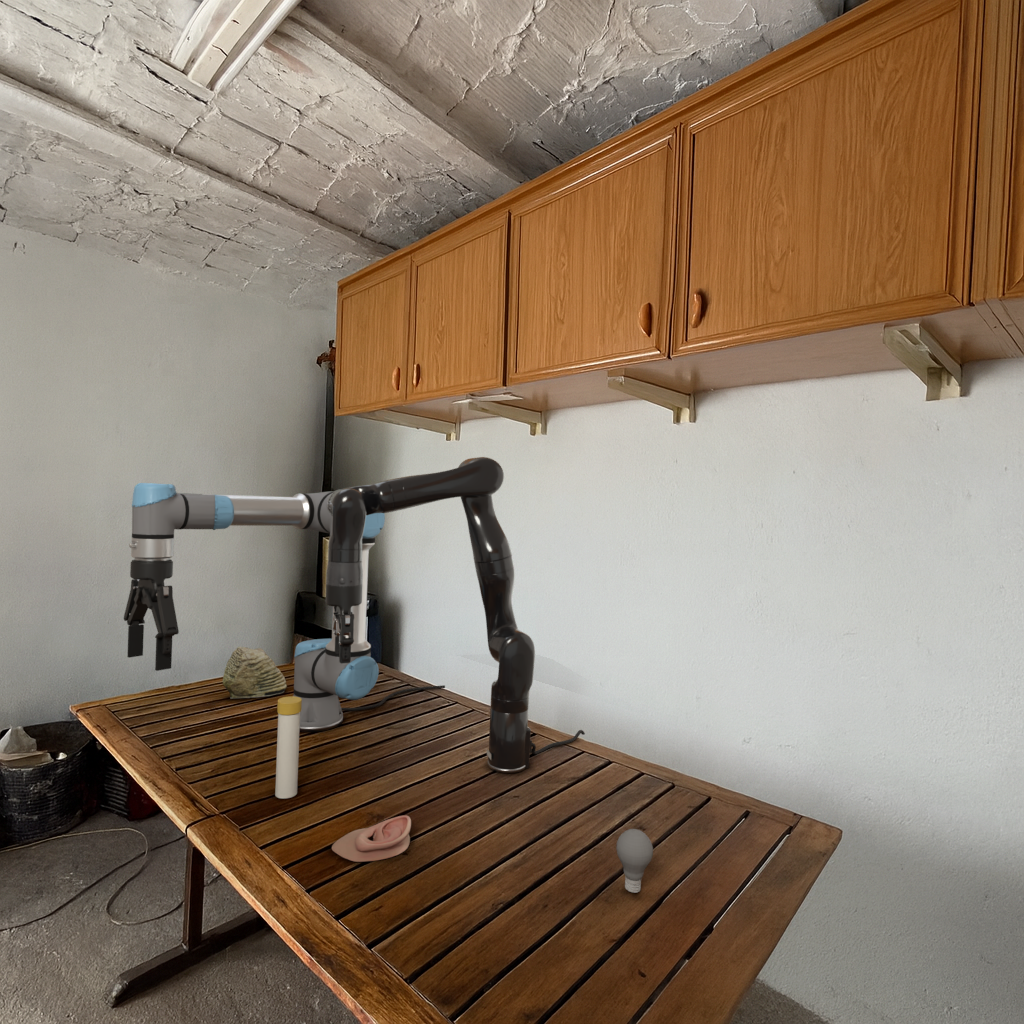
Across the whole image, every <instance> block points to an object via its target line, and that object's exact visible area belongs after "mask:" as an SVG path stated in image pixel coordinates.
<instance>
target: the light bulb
mask: <svg viewBox="0 0 1024 1024" xmlns="http://www.w3.org/2000/svg"><path fill="white" fill-rule="evenodd" d="M615 849H616V854H617V857H618V859H619V861H620V863H621V865H622V867H623V873H624V874H623V875H624V876H625V878H624V888H625V890H627V891H628V892H630V893H634V894H635V893H639V892H640V891H641V889H642V887H641V886H642V879H643V877H644V875H645V871H646V868H647V867H648V866H649V864H650V863H651V861H652V859H653V855H654V847H653V843H652V841H651V838H649V836H648V835H647V834H646V833H645V832H643V831H642V830H641V829H636V828H629V829H627V830H625V831H623V832H622V833H621V834H620V835H619V837H618V839H617V841H616V847H615Z"/></svg>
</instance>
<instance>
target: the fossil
mask: <svg viewBox="0 0 1024 1024" xmlns="http://www.w3.org/2000/svg"><path fill="white" fill-rule="evenodd" d="M222 676H223V677H222V685H223V687H224V688H225V690H226V691H228V693H229V698H230V699H250V698H264V697H271V696H275V695H281V694H284V693H285V691H286V689H287V687H288V686H287V680H286V678H285V676H284V674H283V673H282V672H281V669H279V668H278V667H277V665H276V663H275V662H274V660H273V659H272V658H271V657H270V656H269V655H268V654H267V653H266V652H265V650H264V649H263V648H260V647H258V648H251V647H247V646H246V647H245V646H238V647H237V648H236V649H235V650H233V651H232V653H231V656H230V657H229V659H228V660H227V663H226V666H225V668H224V671H223V675H222Z"/></svg>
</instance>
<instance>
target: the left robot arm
mask: <svg viewBox="0 0 1024 1024" xmlns="http://www.w3.org/2000/svg"><path fill="white" fill-rule="evenodd" d="M334 491H335V490H333V491H332V490H330V491H321V492H311V493H295V494H294V495H293V496H276V495H275V496H274V495H273V496H272V495H248V494H247V495H246V494H244V495H243V494H220V493H219V494H218V493H217V494H216V493H215V494H214V493H189V492H187V493H186V492H177V491H176V486H175V485H174V484H173V483H152V482H139V483H137V484H136V485H135V486H134V488H133V492H132V501H131V520H132V521H131V542H130V543H128V547H129V548H130V549H131V550H130V556H131V558H133V559H132V560H131V561H130V567H129V568H130V571H129V574H130V575H129V576H130V578H131V581H130V590H129V594H128V598H127V603H126V607H125V610H124V615H123V621H124V622H126V624H127V626H128V629H127V630H128V631H127V658H135V657H142V656H144V635H145V634H144V630H145V625H144V624H145V623H146V621H145V619H144V618H145V616H146V615H147V612H148V609H149V610H151V613H152V618H153V620H154V624H155V627H156V631H157V633H156V635H155V636H154V638H155V661H154V663H155V665H154V668H155V669H154V670H155V671H157V672H159V671H164V670H169V669H172V659H173V657H172V655H173V637H175V636H176V635H179V632H180V631H179V625H178V619H177V615H176V614H177V613H176V609H175V603H174V597H173V595H174V593H173V585H165V580H167V579H171V578H172V577H173V575H174V573H173V572H174V561H173V560H172V559H171V558H173V557H174V554H175V553H174V552H175V530H213V531H215V530H224V529H228V528H230V526H233V527H234V526H237V527H238V526H240V527H243V526H246V527H247V526H249V527H250V526H258V527H259V526H268V527H269V526H276V527H277V526H282V527H284V526H285V527H286V526H287V527H288V526H289V527H290V526H291V527H293V528H294V529H296V530H308V531H309V530H310V531H316V532H319V533H325V534H329V537H330V536H331V535H332V524H333V517H332V516H331V514H330V513H329V511H328V508H327V501H328V498H329V497H330V495H331V494H332V493H333V492H334ZM385 515H386V513H374V514H370V515H366V520H365V526H364V532H363V537H362V569H363V583H362V603H361V604H360V605H357V606H352V607H351V612H352V614H354V633H353V639H354V642H353V644H352V645H351V661H350V663H340V661H339V654H336V653H335V635H334V630H333V623H332V625H331V626H332V627H331V638H317V639H308V640H304V641H300V642H299V643H297V645H296V646H295V650H294V655H293V657H294V672H293V673H294V674H293V696H294V697H300V698H301V699H302V706H301V712H300V730H299V732H301V733H316V732H325V731H329V730H332V729H335V728H337V727H339V726H340V725H342V723H343V722H344V714H343V712H358V711H366V710H370V709H375V708H377V707H380V706H382V705H383V704H384V703H385V702H386V701H387V700H389V699H390V698H392V697H395V696H397V695H401V694H403V693H408V692H414V691H425V690H436V689H445V688H446V685H443V684H442V685H430V686H428V685H427V686H420V687H412V688H404V689H401V690H397V691H395V692H392V693H390V694H389V695H387V696H385V697H384V698H383V699H382V700H381V701H380V702H378V703H375V704H371V705H367V706H366V705H365V706H359V707H342V706H341V702H340V699H339V698H341V699H342V700H343V699H344V700H348V701H349V700H350V701H357V700H360V699H362V698H364V697H365V696H367V695H368V694H370V692H371V690H372V689H374V687H375V685H376V683H377V682H378V678H379V674H380V672H379V671H380V670H379V669H380V668H379V665H378V663H377V662H376V660H375V659H374V657H371V652H372V649H371V648H372V644H371V643H370V642H368V640H367V639H366V631H367V607H368V606H367V605H368V604H367V602H368V582H369V581H368V579H369V555H370V553H369V552H370V550H371V548H372V547H374V545H375V544H376V536H378V535H379V534H380V533H381V530H383V528H384V526H385V522H386V521H385V520H386V516H385ZM333 612H334V606H332V613H333ZM344 636H346V638H349V636H348V635H344ZM432 686H433V687H432Z"/></svg>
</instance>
